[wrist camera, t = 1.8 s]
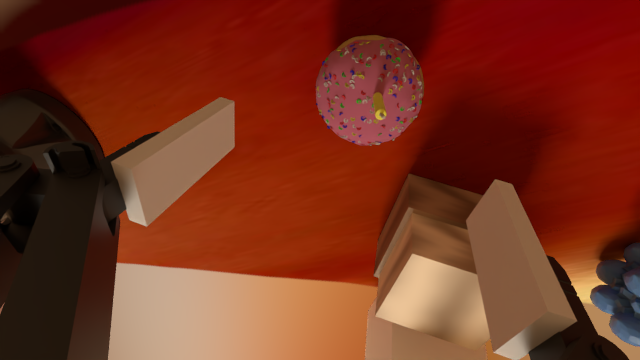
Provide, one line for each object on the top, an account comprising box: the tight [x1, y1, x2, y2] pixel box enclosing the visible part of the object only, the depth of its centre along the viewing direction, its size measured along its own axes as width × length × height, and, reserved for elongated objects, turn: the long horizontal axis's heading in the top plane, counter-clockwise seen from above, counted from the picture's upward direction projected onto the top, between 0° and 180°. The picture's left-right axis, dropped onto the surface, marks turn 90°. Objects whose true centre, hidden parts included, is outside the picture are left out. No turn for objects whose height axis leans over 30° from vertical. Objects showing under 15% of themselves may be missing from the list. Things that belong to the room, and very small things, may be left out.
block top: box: [375, 213, 490, 351], centre depth 27 cm, size 10×10×5 cm
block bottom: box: [374, 174, 483, 278], centre depth 31 cm, size 11×11×6 cm
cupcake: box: [315, 35, 424, 146], centre depth 21 cm, size 9×8×12 cm
